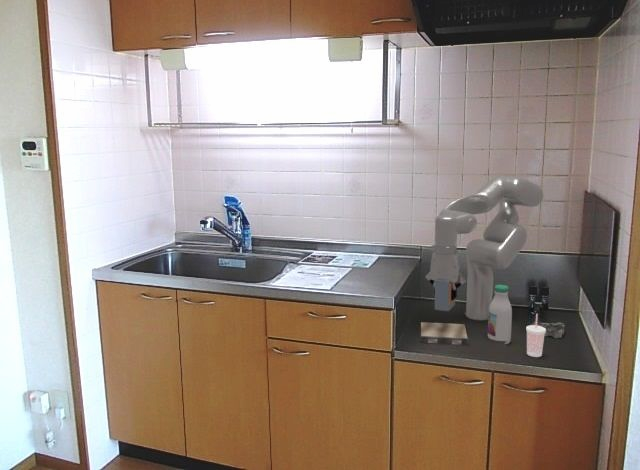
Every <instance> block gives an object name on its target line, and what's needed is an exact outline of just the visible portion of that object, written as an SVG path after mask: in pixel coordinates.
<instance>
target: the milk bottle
mask: <svg viewBox="0 0 640 470" xmlns="http://www.w3.org/2000/svg"><path fill="white" fill-rule="evenodd" d="M509 290H510V288H509V285H505V284H496V285H495V286H494V291H493V292H494V296H493V297H492V302H491V304H490V308H489V319H488V320H487V338H488V339H490V340H492V341H497V342H504V345H508V344H510V342H511V340H512V339H511V337H512V323H513V319H512V318H513V309H512V304H511V302H510V299H509V296H508V295H509Z"/></svg>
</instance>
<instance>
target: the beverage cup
mask: <svg viewBox="0 0 640 470" xmlns="http://www.w3.org/2000/svg"><path fill="white" fill-rule="evenodd" d="M538 316H539V314H538V313H536V314H535V321H536V324H535V325H532V324H529V325H527V326H526V328H525V329H526V330H525V331H526V355H528V356H530V357H533V358H539V357H542V356H543V347H544V342H545V336H544V335H545V332H546V329H545V328H544V327H542V326H537V322H538Z"/></svg>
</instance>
